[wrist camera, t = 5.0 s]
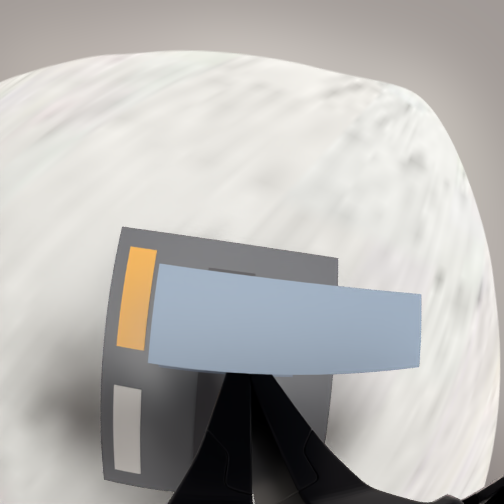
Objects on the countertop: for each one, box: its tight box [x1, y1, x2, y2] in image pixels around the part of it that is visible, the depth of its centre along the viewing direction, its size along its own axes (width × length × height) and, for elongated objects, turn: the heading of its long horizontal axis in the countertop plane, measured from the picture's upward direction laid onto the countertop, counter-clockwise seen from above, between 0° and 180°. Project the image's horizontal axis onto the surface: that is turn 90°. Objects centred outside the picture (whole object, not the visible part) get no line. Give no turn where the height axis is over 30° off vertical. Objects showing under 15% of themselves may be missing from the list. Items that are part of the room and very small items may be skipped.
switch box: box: [101, 227, 338, 494], centre depth 14 cm, size 14×12×2 cm
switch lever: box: [148, 264, 421, 377], centre depth 9 cm, size 4×6×10 cm, turn 85°
